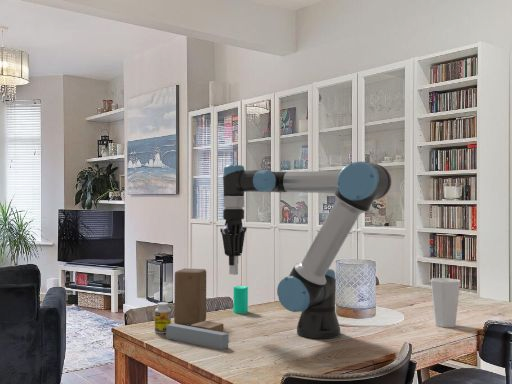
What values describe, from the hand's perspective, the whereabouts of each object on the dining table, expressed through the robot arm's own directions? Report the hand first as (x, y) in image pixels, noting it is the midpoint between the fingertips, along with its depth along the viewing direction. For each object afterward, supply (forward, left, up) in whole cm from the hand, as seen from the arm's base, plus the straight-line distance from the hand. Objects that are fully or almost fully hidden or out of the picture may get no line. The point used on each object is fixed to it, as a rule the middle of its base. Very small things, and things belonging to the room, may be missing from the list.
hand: (233, 274), depth 195 cm
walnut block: (+1, +14, -21) cm, 25 cm away
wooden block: (+21, -1, -21) cm, 29 cm away
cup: (-60, -53, -20) cm, 82 cm away
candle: (+17, -28, -20) cm, 39 cm away
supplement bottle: (+19, +16, -21) cm, 32 cm away
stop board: (0, +20, -20) cm, 28 cm away
